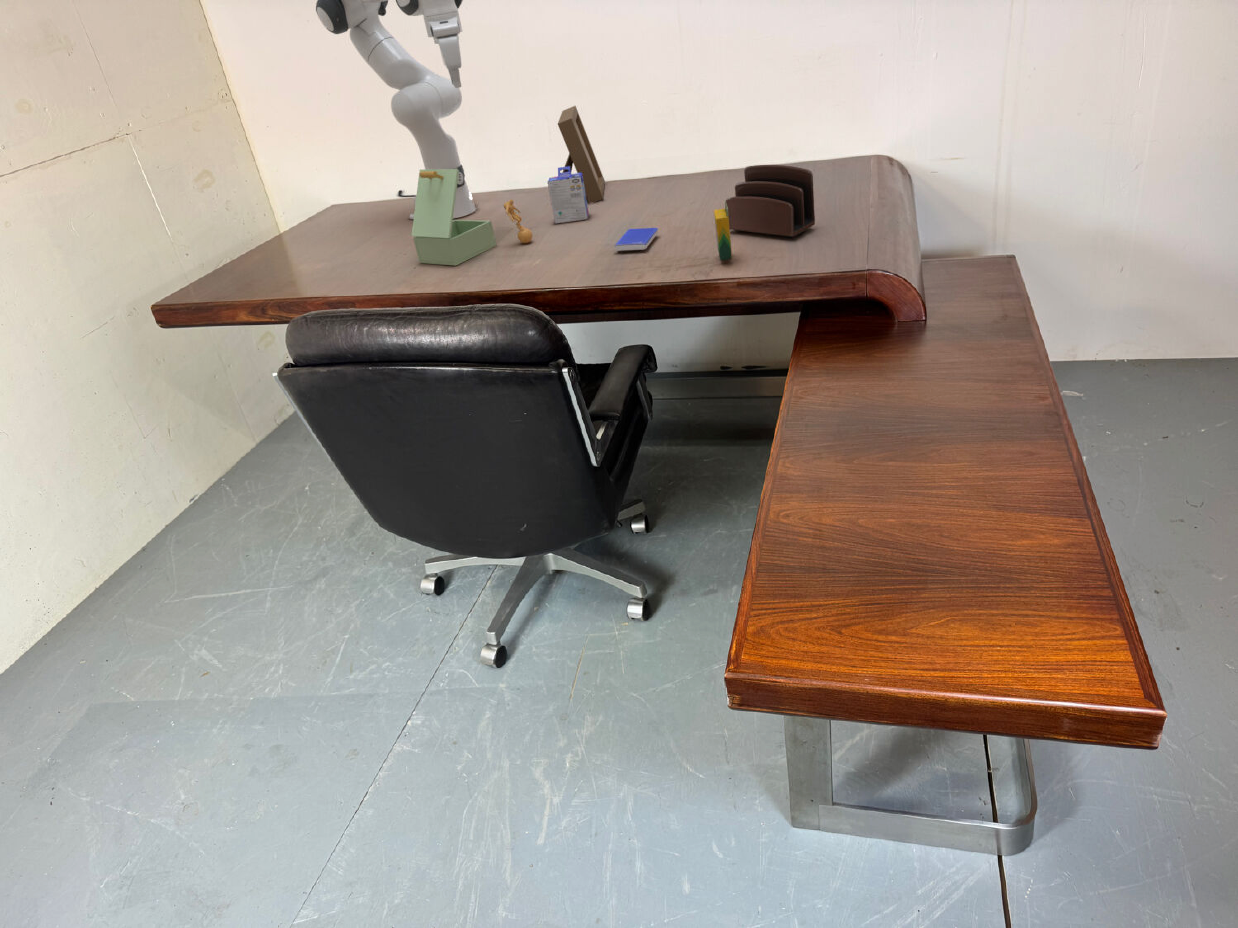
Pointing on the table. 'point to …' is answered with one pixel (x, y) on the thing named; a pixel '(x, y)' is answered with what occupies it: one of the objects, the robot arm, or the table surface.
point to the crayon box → (723, 233)
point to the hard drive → (636, 239)
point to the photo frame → (581, 154)
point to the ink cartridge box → (568, 196)
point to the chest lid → (435, 203)
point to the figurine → (518, 223)
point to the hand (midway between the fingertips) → (456, 86)
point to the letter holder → (773, 201)
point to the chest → (457, 243)
